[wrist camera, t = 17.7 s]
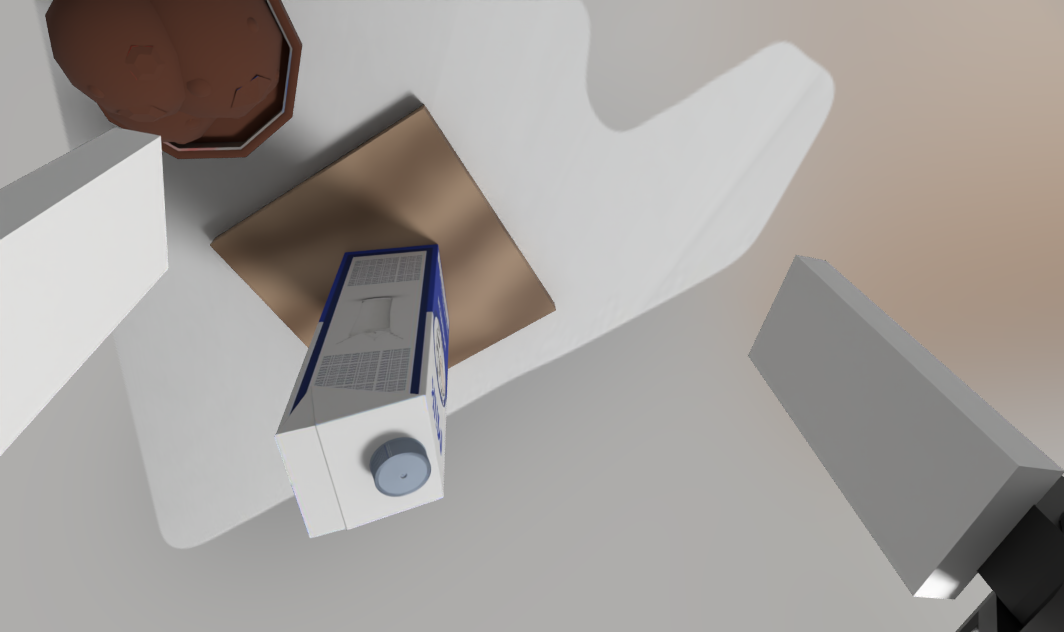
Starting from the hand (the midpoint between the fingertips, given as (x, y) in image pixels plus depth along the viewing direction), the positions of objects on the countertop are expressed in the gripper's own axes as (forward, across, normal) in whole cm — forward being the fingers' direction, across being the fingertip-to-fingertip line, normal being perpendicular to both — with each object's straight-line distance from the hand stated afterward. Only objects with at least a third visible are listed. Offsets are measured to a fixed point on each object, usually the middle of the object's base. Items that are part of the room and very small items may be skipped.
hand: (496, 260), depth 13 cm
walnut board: (+32, -3, -17) cm, 36 cm away
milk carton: (+31, -2, -18) cm, 36 cm away
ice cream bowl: (+32, -14, -2) cm, 35 cm away
